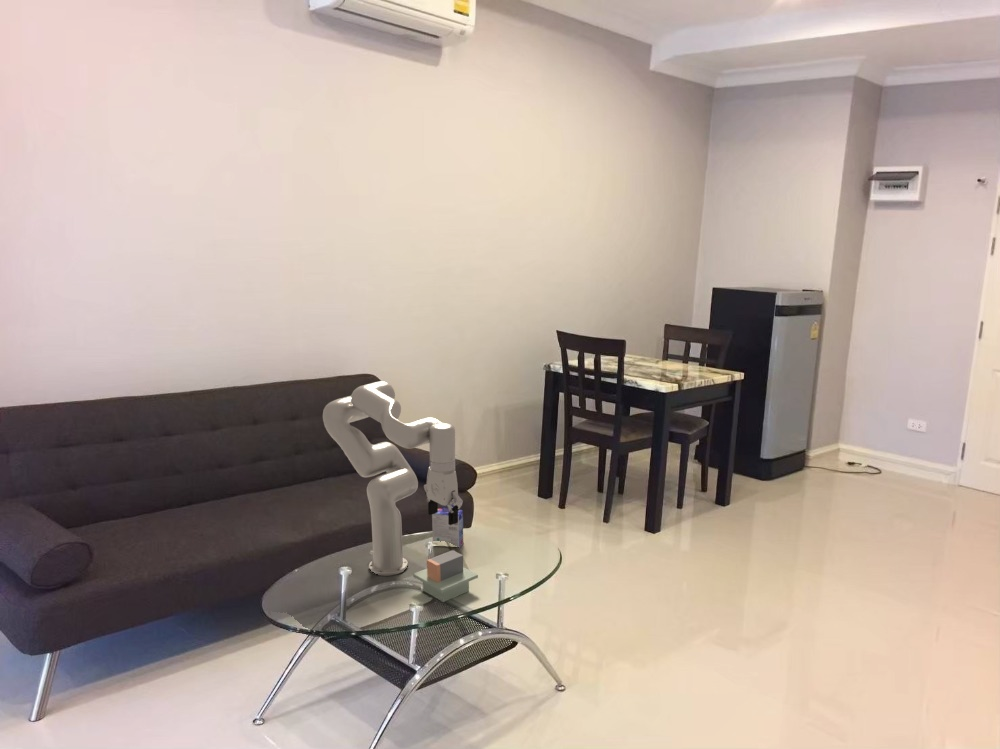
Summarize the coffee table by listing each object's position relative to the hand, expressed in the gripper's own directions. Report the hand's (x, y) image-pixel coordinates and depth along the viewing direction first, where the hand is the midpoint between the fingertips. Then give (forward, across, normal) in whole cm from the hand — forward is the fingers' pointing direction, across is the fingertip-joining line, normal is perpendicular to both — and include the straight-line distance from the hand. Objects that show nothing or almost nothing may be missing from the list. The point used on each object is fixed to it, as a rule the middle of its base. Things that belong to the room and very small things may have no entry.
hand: (443, 518), depth 242 cm
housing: (+18, +1, 0) cm, 18 cm away
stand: (+24, +1, 0) cm, 24 cm away
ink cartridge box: (+24, -24, +21) cm, 40 cm away
